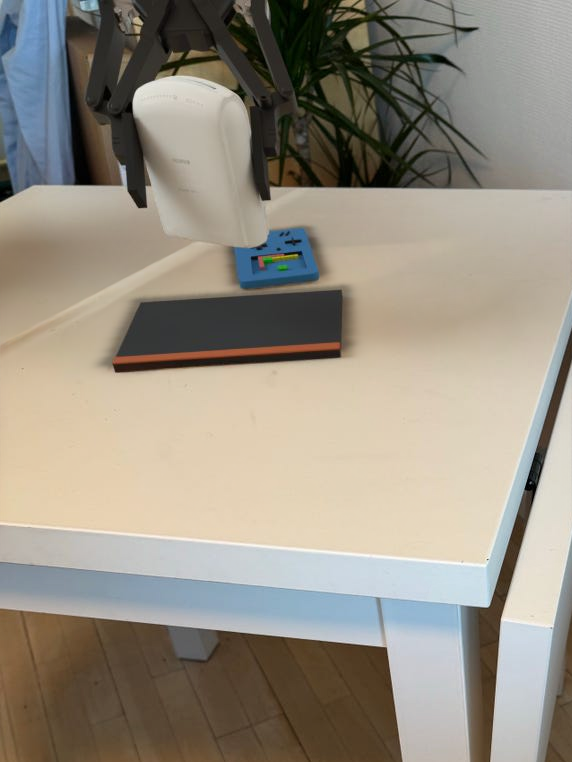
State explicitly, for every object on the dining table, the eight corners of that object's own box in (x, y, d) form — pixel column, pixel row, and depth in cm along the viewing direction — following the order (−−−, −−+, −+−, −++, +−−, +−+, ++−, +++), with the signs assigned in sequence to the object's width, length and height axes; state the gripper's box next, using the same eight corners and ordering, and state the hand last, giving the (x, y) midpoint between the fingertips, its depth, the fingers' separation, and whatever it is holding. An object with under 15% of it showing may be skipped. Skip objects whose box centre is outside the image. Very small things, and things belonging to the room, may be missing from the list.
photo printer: (156, 238, 81) (115, 78, 72) (189, 223, 83) (152, 67, 75) (247, 254, 77) (214, 87, 69) (278, 238, 80) (250, 76, 71)
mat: (114, 372, 80) (111, 362, 80) (142, 309, 90) (140, 301, 90) (340, 357, 81) (339, 347, 81) (342, 297, 92) (341, 288, 91)
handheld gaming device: (303, 224, 105) (318, 269, 94) (305, 234, 105) (320, 280, 95) (231, 232, 103) (238, 279, 93) (233, 242, 104) (240, 290, 93)
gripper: (318, -34, 80) (339, 211, 79) (63, -22, 79) (81, 227, 78) (307, -108, 73) (330, 161, 72) (24, -96, 72) (44, 178, 71)
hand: (200, 195), depth 75 cm, fingers closed on photo printer, 10 cm apart
